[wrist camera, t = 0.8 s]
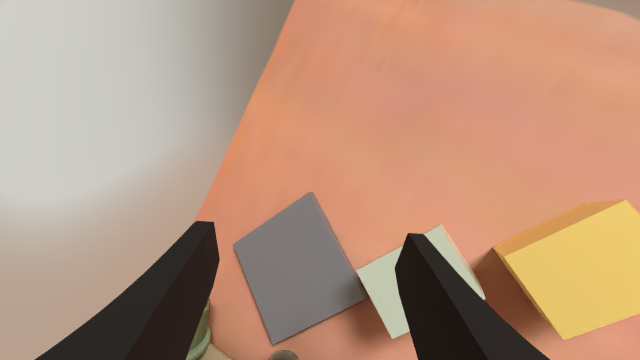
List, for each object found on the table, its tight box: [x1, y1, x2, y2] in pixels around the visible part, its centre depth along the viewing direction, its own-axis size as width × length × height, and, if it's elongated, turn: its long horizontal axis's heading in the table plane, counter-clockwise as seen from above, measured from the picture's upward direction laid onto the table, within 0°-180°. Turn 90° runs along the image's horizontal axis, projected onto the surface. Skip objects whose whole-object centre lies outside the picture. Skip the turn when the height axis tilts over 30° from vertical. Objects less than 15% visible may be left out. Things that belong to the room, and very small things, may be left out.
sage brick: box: [356, 224, 486, 339], centre depth 19 cm, size 4×6×5 cm
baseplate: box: [233, 192, 368, 345], centre depth 26 cm, size 10×10×1 cm
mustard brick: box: [492, 200, 640, 340], centre depth 16 cm, size 4×6×5 cm
